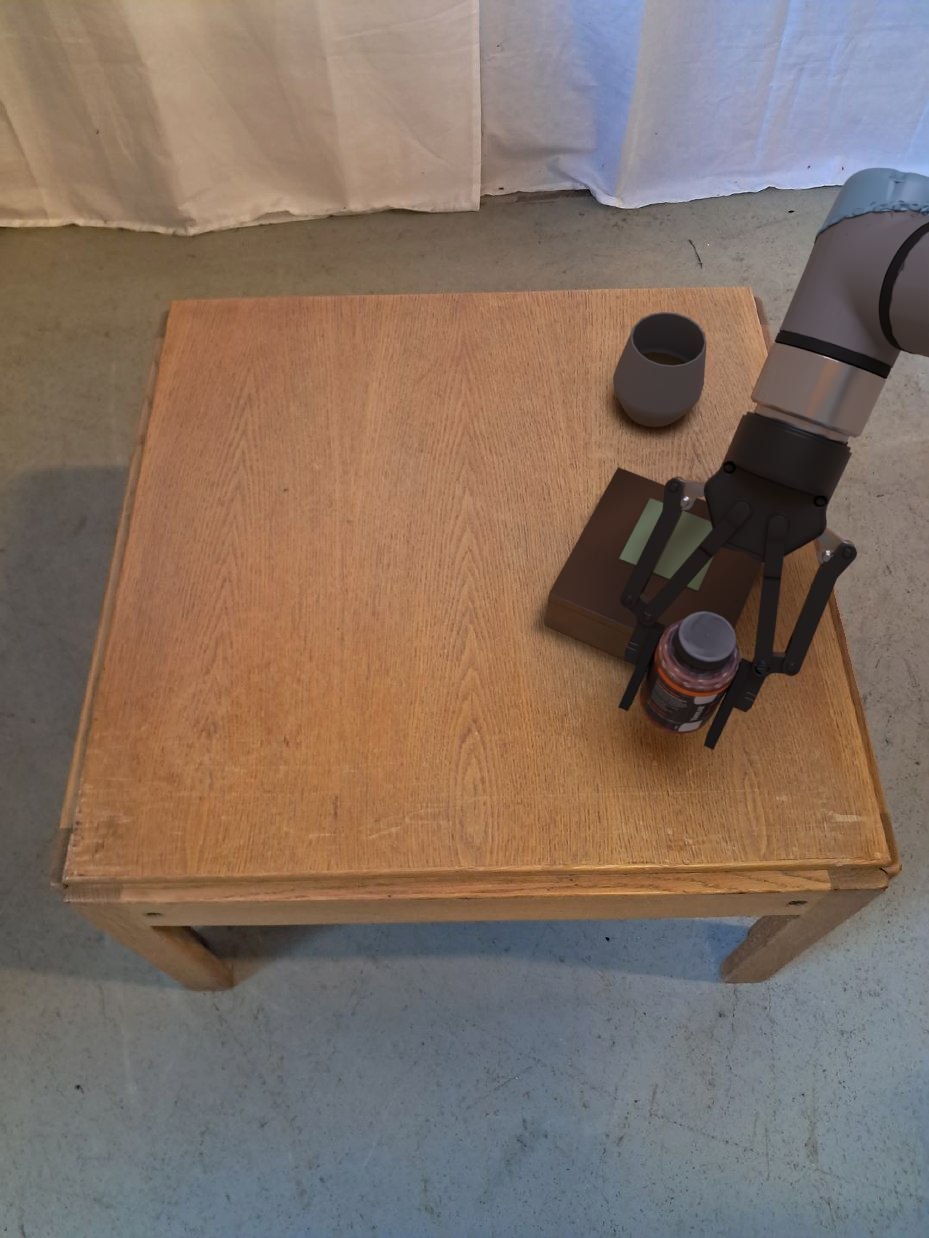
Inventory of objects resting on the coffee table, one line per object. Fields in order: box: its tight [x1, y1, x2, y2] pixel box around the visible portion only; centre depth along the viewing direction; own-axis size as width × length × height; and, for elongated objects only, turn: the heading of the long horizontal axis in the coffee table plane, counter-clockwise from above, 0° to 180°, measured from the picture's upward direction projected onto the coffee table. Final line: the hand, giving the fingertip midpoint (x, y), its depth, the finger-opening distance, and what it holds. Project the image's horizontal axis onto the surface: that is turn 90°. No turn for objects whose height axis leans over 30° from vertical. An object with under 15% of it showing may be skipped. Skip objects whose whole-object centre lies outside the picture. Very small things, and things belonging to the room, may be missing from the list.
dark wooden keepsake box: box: [544, 466, 764, 661], centre depth 86 cm, size 16×16×6 cm
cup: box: [612, 311, 708, 428], centre depth 95 cm, size 10×9×10 cm
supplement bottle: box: [639, 611, 741, 735], centre depth 68 cm, size 6×6×11 cm
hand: (667, 722), depth 68 cm, fingers closed on supplement bottle, 6 cm apart
